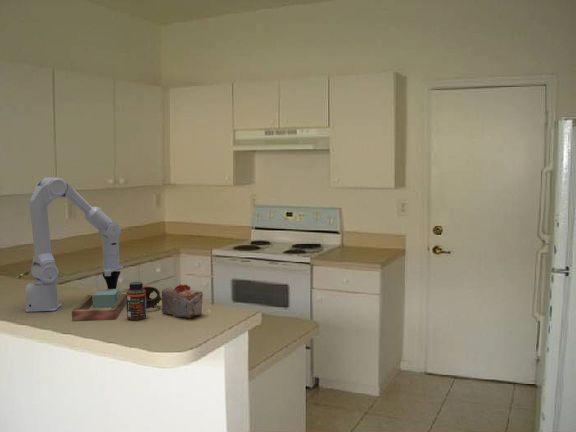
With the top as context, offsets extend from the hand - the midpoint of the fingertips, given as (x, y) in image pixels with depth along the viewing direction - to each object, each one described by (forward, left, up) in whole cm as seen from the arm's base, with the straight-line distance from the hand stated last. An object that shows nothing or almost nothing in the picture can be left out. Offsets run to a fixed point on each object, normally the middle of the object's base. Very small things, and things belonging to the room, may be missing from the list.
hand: (112, 292), depth 209 cm
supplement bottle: (+13, -30, -2) cm, 32 cm away
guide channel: (0, -19, -2) cm, 19 cm away
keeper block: (0, -10, -2) cm, 10 cm away
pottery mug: (+13, -17, -2) cm, 22 cm away
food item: (+27, -27, -2) cm, 38 cm away
